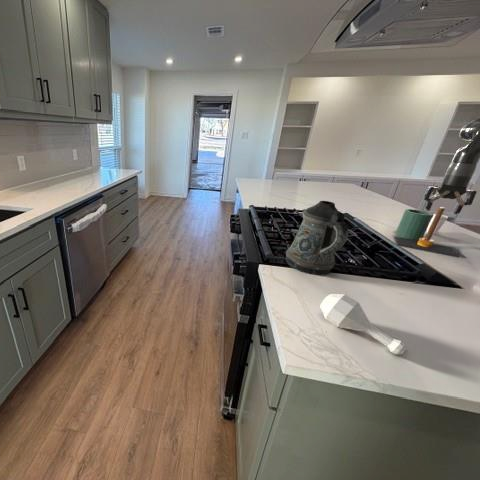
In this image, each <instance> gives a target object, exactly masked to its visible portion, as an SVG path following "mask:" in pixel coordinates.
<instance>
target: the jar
mask: <svg viewBox="0 0 480 480" xmlns="http://www.w3.org/2000/svg"><path fill="white" fill-rule="evenodd" d="M434 214H435V213H432V212H430V211H427V210H422V209H414V208H406V209H405V210H404V212H403V214H402V216H401V218H400V221H399V223H398V226H397V228H396V230H395V233H394V235H395V236H396V237H401V238H406V239H412V240H417V241H419V239H420V238H421V237H425V235H426V233H427V228H428V225H429V223H430V221H431V219H432V217H433V215H434Z"/></svg>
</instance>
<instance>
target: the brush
mask: <svg viewBox="0 0 480 480" xmlns="http://www.w3.org/2000/svg"><path fill="white" fill-rule="evenodd" d="M445 210H446V207H443V206H439V207H438V209H437V211H436V213H435V214H436V215H435V218H434V220H433V222H432V224H431V226H430V228H429V230H428V232H427V231H426V233H425V235H424V236H423V237H421V238H420V239H419V241H418V243H417V244H418V245H420V246H423V247H429V248H430V247H432V245H433V243H434V244H435V240H434V239H432V237H433V235H434V234H433V232H434V230H435V228H436V226H437V224H438V222H439V220H440V218H441V216H442V215H444V212H445Z"/></svg>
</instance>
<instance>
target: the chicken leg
mask: <svg viewBox="0 0 480 480" xmlns="http://www.w3.org/2000/svg"><path fill="white" fill-rule="evenodd" d="M319 307H320V309H321V311H322V314H323V316H324V318H325V319H326V320H327V321H328V322H329V323H331V324H333V326H335V327H337V328H341V329H347V330H353V331H359V332H364V333H366V334H367V335H369V336H370V337H372V338H374V339H375V340H376V341H378V342H379V343H381V344H382V345H384V346H385V347H387V349H388V350H389V352H390V353H392V354H394V355H403V354H404V353H405V352H406V344H405V343H404V342H403V341H402V340H400V339H395V338H393V337H392V336H390V335H389V334H387V333H385V332H384V331H382V330H381V329H379V328H377V327H376V326H375V325H373V324H372V323H371V322H370V320H369V318H368V316H367V314H366V313H365V311H364V310H363V308H362V305H360V303H359V301H357V300H356V299H354V298H353V297H351V296H349V295H347V294H345V293H329V294H328V295H326V297H324V299H323V300H322V301H321V303H320V305H319Z"/></svg>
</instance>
